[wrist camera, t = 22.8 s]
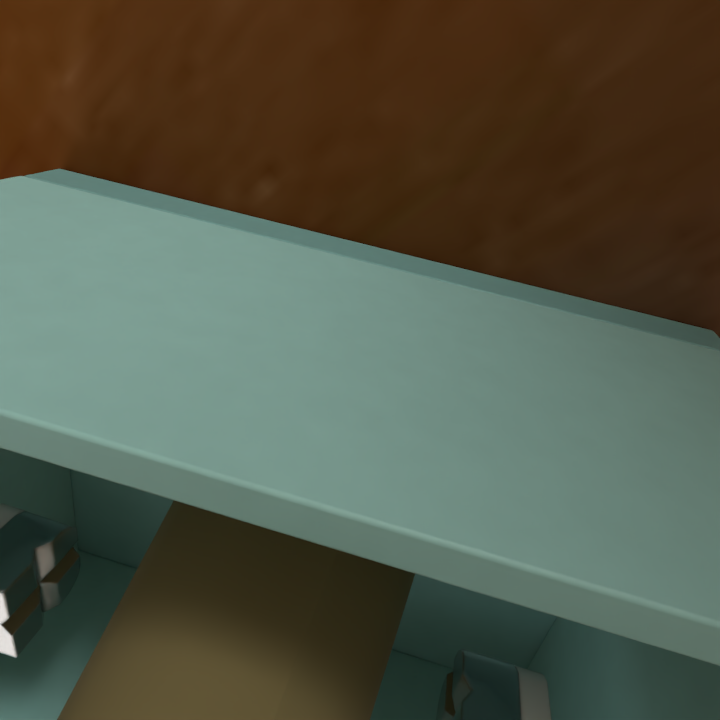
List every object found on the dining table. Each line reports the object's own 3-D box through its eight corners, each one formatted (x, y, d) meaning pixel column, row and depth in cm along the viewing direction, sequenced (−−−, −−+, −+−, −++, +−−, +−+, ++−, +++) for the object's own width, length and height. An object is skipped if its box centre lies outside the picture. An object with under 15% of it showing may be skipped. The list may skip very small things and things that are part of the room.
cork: (301, 589, 16) (11, 1386, 6) (164, 436, 14) (-529, 1193, 4) (486, 525, 13) (491, 1701, 4) (345, 329, 12) (-336, 1525, 2)
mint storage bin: (-476, 270, 6) (-154, 801, 11) (1099, 736, 4) (550, 1069, 10) (59, 167, 13) (89, 528, 18) (714, 329, 11) (523, 664, 17)
